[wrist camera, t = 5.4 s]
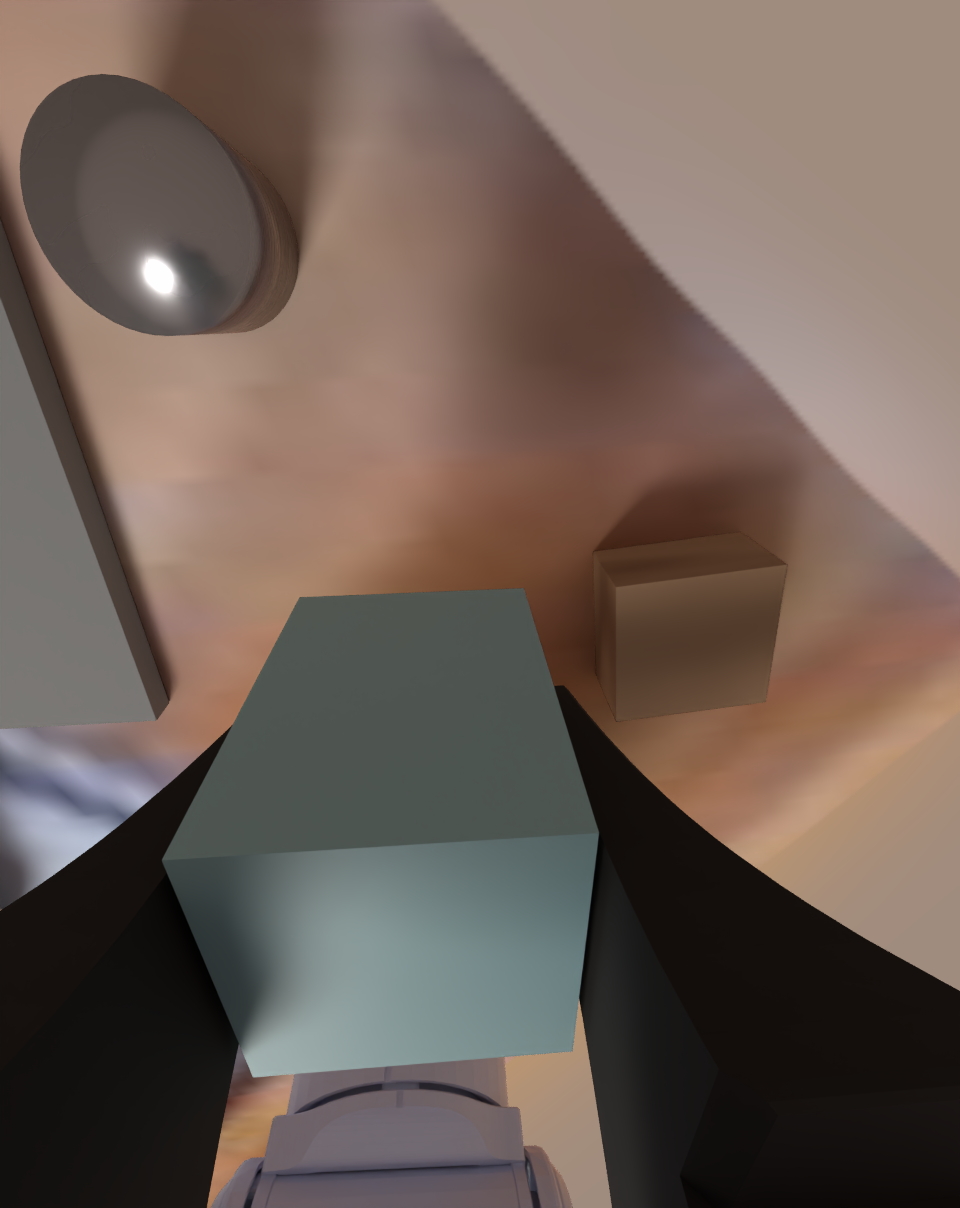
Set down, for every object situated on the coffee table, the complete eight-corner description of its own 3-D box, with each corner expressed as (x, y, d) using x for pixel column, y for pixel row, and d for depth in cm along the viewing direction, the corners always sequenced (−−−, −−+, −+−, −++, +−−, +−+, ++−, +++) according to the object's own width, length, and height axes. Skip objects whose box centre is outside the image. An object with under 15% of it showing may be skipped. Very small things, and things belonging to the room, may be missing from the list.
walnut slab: (724, 653, 21) (765, 702, 18) (594, 670, 21) (616, 722, 18) (737, 529, 18) (787, 564, 16) (591, 549, 18) (616, 587, 16)
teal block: (519, 756, 13) (571, 1051, 8) (331, 766, 13) (252, 1077, 8) (523, 588, 11) (599, 833, 6) (299, 597, 11) (161, 860, 6)
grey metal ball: (310, 331, 15) (268, 333, 11) (159, 334, 15) (67, 338, 11) (282, 143, 13) (221, 73, 9) (109, 143, 13) (-20, 74, 9)
